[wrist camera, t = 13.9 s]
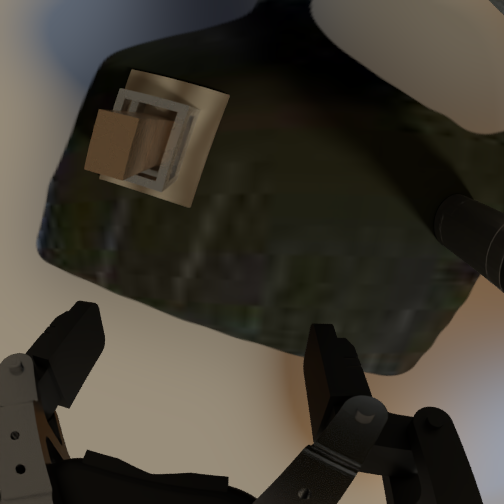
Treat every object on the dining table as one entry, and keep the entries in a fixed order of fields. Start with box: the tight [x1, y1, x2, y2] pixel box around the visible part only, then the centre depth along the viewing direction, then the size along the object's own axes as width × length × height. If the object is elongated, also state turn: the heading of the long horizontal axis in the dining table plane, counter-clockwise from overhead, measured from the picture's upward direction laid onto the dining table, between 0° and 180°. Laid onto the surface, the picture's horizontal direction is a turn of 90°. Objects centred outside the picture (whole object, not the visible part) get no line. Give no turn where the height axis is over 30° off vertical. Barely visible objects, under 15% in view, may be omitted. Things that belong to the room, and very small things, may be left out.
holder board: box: [99, 69, 230, 208], centre depth 39 cm, size 14×16×1 cm
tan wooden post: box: [84, 109, 175, 181], centre depth 31 cm, size 4×6×16 cm
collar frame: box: [113, 88, 201, 192], centre depth 35 cm, size 8×10×8 cm
